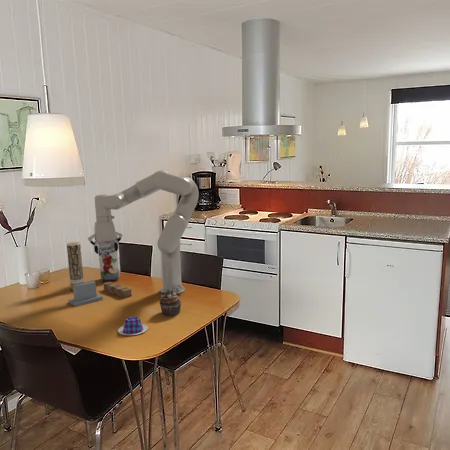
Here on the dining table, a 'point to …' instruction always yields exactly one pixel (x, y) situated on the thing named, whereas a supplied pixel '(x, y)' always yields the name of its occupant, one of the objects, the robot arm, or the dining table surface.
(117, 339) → the dining table surface
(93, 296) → the ridge
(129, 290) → the rod
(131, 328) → the pudding
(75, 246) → the paper tube
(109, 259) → the juice carton
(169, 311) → the cupcake
